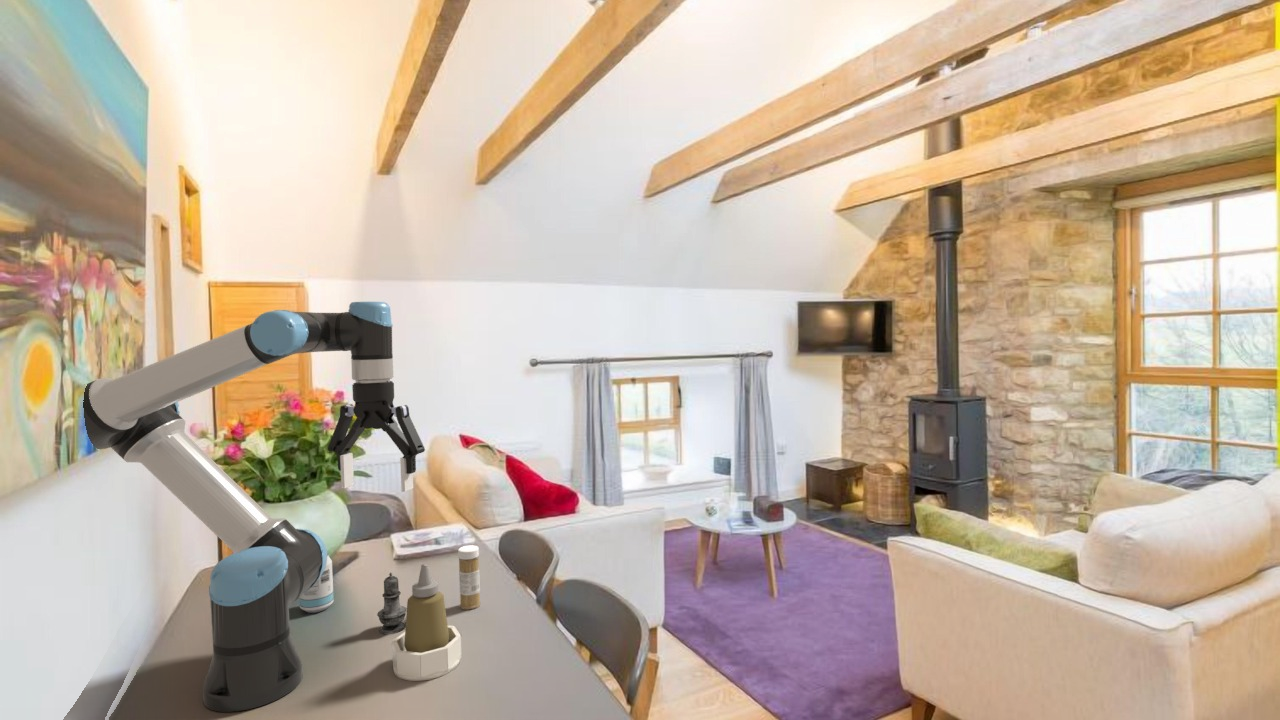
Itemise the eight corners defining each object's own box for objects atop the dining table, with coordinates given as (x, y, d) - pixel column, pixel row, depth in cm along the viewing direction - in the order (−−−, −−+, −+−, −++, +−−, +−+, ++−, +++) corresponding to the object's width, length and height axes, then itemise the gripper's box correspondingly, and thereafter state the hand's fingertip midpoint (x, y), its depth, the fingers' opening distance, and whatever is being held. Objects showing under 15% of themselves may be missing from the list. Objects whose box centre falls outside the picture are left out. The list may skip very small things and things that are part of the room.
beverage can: (331, 599, 152) (329, 549, 151) (335, 609, 146) (333, 557, 146) (298, 606, 148) (296, 555, 148) (301, 617, 143) (299, 564, 142)
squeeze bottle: (396, 661, 121) (393, 566, 120) (434, 644, 127) (431, 554, 127) (420, 675, 116) (417, 576, 115) (458, 657, 122) (455, 563, 121)
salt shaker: (397, 635, 133) (395, 578, 133) (371, 633, 134) (369, 576, 134) (413, 623, 139) (411, 568, 138) (388, 621, 140) (386, 566, 140)
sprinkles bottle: (475, 600, 150) (473, 543, 150) (484, 606, 147) (482, 548, 146) (456, 605, 147) (454, 547, 147) (464, 612, 144) (463, 552, 143)
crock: (400, 688, 114) (399, 661, 113) (388, 658, 124) (387, 634, 124) (468, 668, 120) (467, 643, 119) (451, 642, 130) (450, 618, 130)
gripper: (440, 379, 127) (443, 486, 128) (332, 379, 133) (336, 481, 134) (418, 382, 120) (422, 496, 121) (305, 382, 126) (309, 490, 127)
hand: (377, 488), depth 128 cm, fingers open, 13 cm apart
